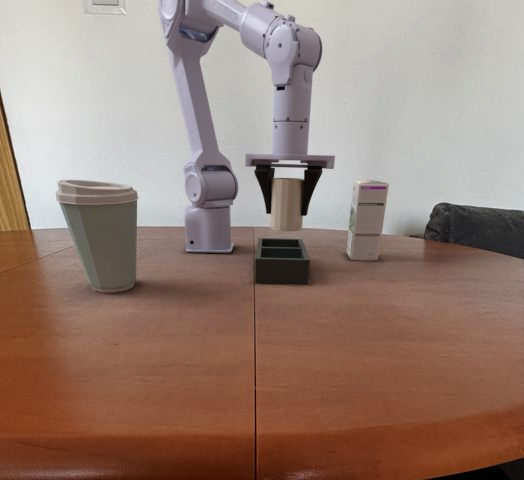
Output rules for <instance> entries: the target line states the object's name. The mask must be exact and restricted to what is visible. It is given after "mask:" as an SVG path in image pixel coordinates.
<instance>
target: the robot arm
mask: <svg viewBox="0 0 524 480" xmlns="http://www.w3.org/2000/svg"><path fill="white" fill-rule="evenodd" d="M157 12H158V16H159V21H160V26H161V30H162V33H163V38H164V43H165V45H166V47H167V51H168V57H169V62H170V67H171V71H172V76H173V79H174V84H175V89H176V93H177V98H178V101H179V105H180V109H181V110H180V111H181V114H182V118H183V122H184V127H185V132H186V135H187V140H188V143H189V148H190V152H191V157H190V158H189V159H188V160H187V162H186V163H185V165H184V166H183V169H182V171H183V173H184V191H185V194H186V196H187V198H188V199H187V200H189V202H190V203H191V205H186V206H185V208H184V215H183V216H184V220H183V221H184V232H185V233H184V234H185V247H186V249H185V252H186V253H208V254H210V253H213V254H221V253H222V254H231V253H232V251H233V249H234V247H235V242H232V231H231V230H232V229H231V228H232V226H231V222H232V221H231V206H233V205H234V201H235V199H236V198H237V196H238V194H239V181H238V178H237V176H236V173H235V172H234V170H233V167H232V164H231V161H230V160H229V159H228V158H227V157H226V156H225V155H224V154H223V153H222V152H221V151H220V150H219V145H218V140H217V135H216V131H215V125H214V121H213V117H212V112H211V107H210V103H209V99H208V94H207V90H206V85H205V81H204V80H205V79H204V76H203V71H202V67H201V58H202V57H204V56H206V55H207V54H208V53H209V50H210V48H211V47H212V44H214V41H215V39H216V37H217V35H218V33H219V31H220V29H221V28H224V27H225V26H227V27H229V28H230V29H232V30H235V31H236V32H238V33H239V37H240V41H241V43H242V45H243V46H244V47H245V48H246V49H247V50H249V51H251V52H253V53H254V54H255V55H257V56H259V57H260V58H262V59H263V60H265V61H266V62H267V64H268V66H269V68H270V72H271V82H272V85H273V108H272V109H273V113H272V115H273V116H272V144H271V145H272V148H271V149H272V151H271V153H244V158H245V159H244V161H245V162H244V165H245V167H246V168H248V167H249V168H250V167H251V168H252V167H254V168H255V169H254V170H253V171H254V172H253V173H254V176H255V178H256V180H257V183H258V185H259V188H260V190H261V194H262V197H263V202H264V207H265V214H266V215H270V214H271V179H272V178H275V171H276V168H290V169H291V168H292V169H304V170H303V179H304V197H303V204H302V216H303V217H306V216H307V215H308V212H309V207H310V203H311V200H312V197H313V194H314V192H315V189H316V187H317V184H318V183H319V180H320V178H321V176H322V174H323V169H327V170H334V169H335V161H336V155H334V154H333V155H332V154H331V155H326V154H325V155H324V154H308V153H309V151H308V150H309V138H310V137H309V135H310V120H311V105H312V94H313V93H312V90H313V77H314V73H315V72H316V70H317V69H318V67H319V65H320V63H321V60H322V57H323V41H322V38H321V36H320V34H319V33H318V32H316V31H315V29H314V27H311V26H307V27H306V26H304V25H301V24H298V23H296V17H295V16H294V15H292V14H290V13H285V15H284V14H281V13H279V12H278V11H276V10H275V4H274V3H273V2H271V1H269V0H261V2H258V1H257V2H252V3H251V4H249V5H248V6H247V5H245V4H243V3H241V2H240V1H238V0H158V1H157ZM280 161H296V162H297V161H299V163H300V164H298V163H280Z"/></svg>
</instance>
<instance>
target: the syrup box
mask: <svg viewBox="0 0 524 480" xmlns="http://www.w3.org/2000/svg"><path fill="white" fill-rule="evenodd" d="M389 186H390V183H389V182H385V181H381V180H373V179H372V180H371V179H362V180H354V181H353V185H352V195H351V203H350V211H349V223H348V230H347V239H346V249H345V254H346V256H347V257H348V258H349V260H351V261H361V262H362V261H364V262H367V261H369V262H370V261H371V262H374V261H375V262H377V261H378V260H379V255H380V249H381V248H380V247H381V242H382V236H383V228H384V221H385V216H386V215H385V214H386V209H387V208H386V207H387V198H388V193H389Z"/></svg>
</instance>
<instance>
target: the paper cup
mask: <svg viewBox="0 0 524 480" xmlns="http://www.w3.org/2000/svg"><path fill="white" fill-rule="evenodd" d="M303 197H304V178H300V177H299V178H298V177H274V178H272V179H271V214H269V215H270V216H269V229H270V230H273V231H277V232H299V231H302V230H303V223H304V216H302V204H303Z"/></svg>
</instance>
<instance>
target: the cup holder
mask: <svg viewBox="0 0 524 480" xmlns="http://www.w3.org/2000/svg"><path fill="white" fill-rule="evenodd" d="M254 263H255V265H254V267H255V268H254V269H255V271H254V272H255V273H254V275H255V276H254V280H255V281H254V284H281V285H282V284H283V285H308V284H309V276H310V264H311V259H310V257H309V254H308V251H307V249H306V246H305V243H304V241H303V238H282V237H281V238H279V237H277V238H276V237H275V238H274V237H258V238H257V246H256V252H255V262H254Z"/></svg>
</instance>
